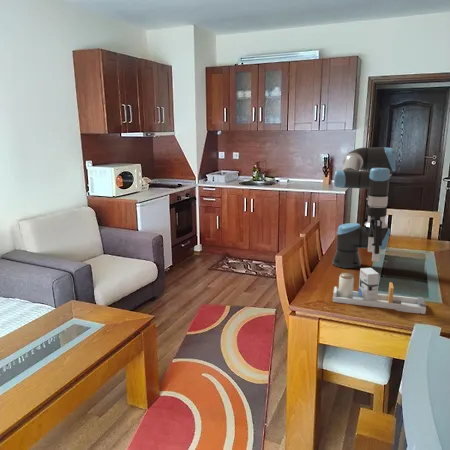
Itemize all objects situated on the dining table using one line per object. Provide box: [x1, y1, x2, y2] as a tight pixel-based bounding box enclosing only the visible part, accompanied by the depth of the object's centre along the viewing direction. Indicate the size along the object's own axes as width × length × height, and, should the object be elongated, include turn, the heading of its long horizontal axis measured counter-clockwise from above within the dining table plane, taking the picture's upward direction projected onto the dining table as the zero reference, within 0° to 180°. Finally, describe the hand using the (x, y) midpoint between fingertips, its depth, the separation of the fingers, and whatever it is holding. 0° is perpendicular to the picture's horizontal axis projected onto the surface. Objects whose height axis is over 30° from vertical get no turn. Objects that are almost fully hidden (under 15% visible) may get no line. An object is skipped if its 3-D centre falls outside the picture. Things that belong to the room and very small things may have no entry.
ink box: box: [358, 267, 380, 301], centre depth 168 cm, size 8×5×12 cm, turn 5°
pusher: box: [387, 281, 401, 304], centre depth 166 cm, size 7×5×8 cm
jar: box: [338, 272, 355, 299], centre depth 172 cm, size 6×6×11 cm
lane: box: [332, 286, 427, 315], centre depth 168 cm, size 10×36×4 cm, turn 72°
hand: (373, 256), depth 165 cm, fingers open, 13 cm apart
